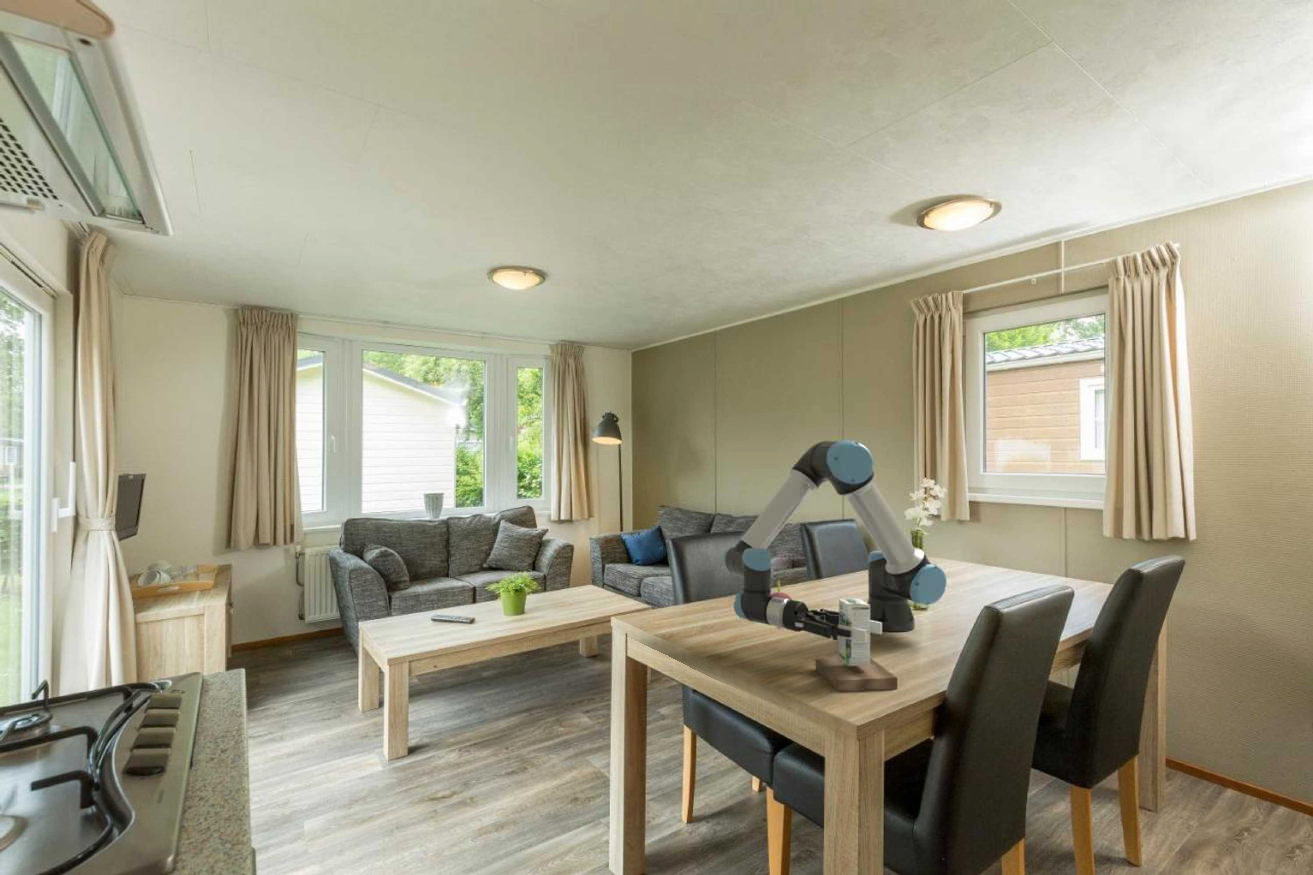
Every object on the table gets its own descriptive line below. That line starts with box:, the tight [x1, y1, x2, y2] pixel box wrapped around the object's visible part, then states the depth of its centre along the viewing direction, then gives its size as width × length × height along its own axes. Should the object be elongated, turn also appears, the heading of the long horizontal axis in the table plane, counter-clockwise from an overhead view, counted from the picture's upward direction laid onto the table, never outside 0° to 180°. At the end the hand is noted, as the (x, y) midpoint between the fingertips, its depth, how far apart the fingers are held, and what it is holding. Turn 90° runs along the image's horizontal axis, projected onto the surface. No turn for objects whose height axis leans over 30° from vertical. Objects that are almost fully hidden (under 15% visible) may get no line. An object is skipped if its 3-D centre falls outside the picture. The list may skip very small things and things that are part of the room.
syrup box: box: [838, 597, 871, 666], centre depth 145 cm, size 6×6×14 cm
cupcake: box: [771, 580, 793, 600], centre depth 201 cm, size 9×8×12 cm
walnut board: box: [815, 657, 898, 692], centre depth 145 cm, size 14×14×2 cm
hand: (873, 632), depth 141 cm, fingers closed on syrup box, 8 cm apart
